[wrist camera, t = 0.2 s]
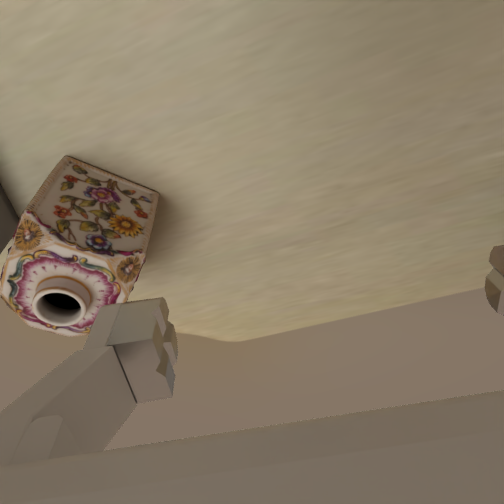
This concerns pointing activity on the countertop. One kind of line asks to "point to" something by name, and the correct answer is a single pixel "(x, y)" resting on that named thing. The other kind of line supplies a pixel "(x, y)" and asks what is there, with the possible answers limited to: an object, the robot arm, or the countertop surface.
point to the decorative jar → (77, 248)
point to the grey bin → (6, 220)
